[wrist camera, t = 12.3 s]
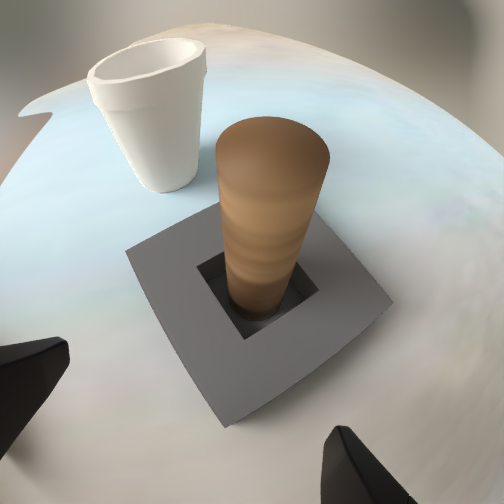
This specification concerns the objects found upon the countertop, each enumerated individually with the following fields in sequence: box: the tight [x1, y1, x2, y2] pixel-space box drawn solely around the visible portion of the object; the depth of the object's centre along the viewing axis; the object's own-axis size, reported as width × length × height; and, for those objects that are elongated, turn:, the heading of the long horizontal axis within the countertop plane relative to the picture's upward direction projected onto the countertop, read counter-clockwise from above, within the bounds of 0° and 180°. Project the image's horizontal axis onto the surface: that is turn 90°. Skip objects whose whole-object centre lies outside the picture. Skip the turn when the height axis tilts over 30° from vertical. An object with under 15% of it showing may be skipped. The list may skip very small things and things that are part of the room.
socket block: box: [125, 202, 394, 428], centre depth 20 cm, size 14×14×3 cm
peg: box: [216, 117, 330, 321], centre depth 16 cm, size 4×4×14 cm
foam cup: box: [87, 38, 207, 193], centre depth 22 cm, size 10×9×13 cm
